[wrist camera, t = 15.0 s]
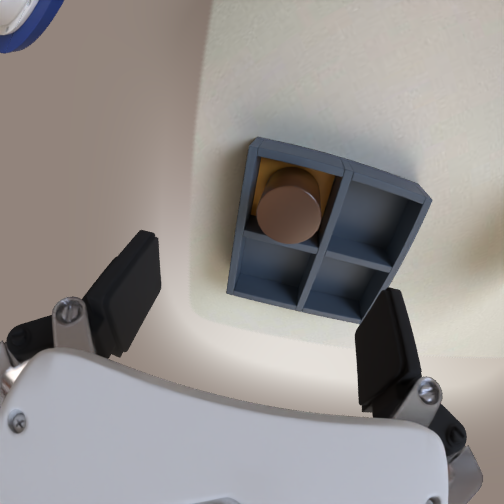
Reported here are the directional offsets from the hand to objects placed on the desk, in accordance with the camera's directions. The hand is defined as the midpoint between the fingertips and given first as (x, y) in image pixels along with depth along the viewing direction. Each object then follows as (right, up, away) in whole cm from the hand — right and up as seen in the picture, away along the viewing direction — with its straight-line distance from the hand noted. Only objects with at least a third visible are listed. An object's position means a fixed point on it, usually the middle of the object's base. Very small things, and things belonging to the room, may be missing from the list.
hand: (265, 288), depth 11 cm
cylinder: (+2, +6, +9) cm, 11 cm away
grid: (+5, +3, +11) cm, 13 cm away
